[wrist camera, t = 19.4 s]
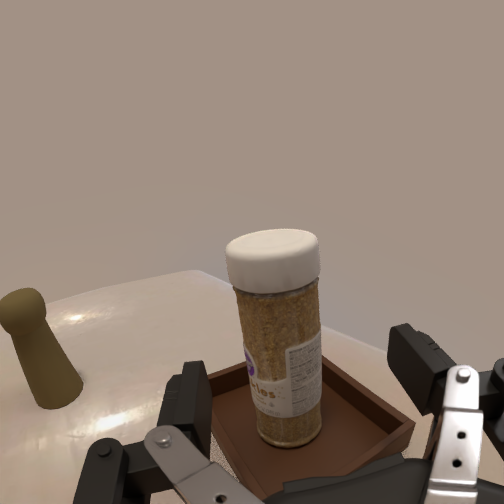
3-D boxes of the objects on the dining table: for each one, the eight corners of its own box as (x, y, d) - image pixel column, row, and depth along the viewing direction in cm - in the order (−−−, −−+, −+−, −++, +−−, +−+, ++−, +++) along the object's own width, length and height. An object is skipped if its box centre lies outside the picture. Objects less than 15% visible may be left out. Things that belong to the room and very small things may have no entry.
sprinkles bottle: (245, 423, 20) (207, 242, 16) (295, 395, 22) (279, 222, 18) (283, 462, 16) (257, 260, 12) (336, 426, 18) (337, 233, 14)
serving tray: (408, 446, 15) (416, 422, 14) (272, 531, 11) (268, 516, 11) (302, 361, 27) (300, 338, 26) (196, 403, 23) (188, 380, 22)
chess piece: (64, 368, 28) (28, 278, 25) (93, 384, 26) (52, 283, 23) (27, 395, 23) (-18, 301, 20) (52, 417, 20) (-2, 311, 17)
